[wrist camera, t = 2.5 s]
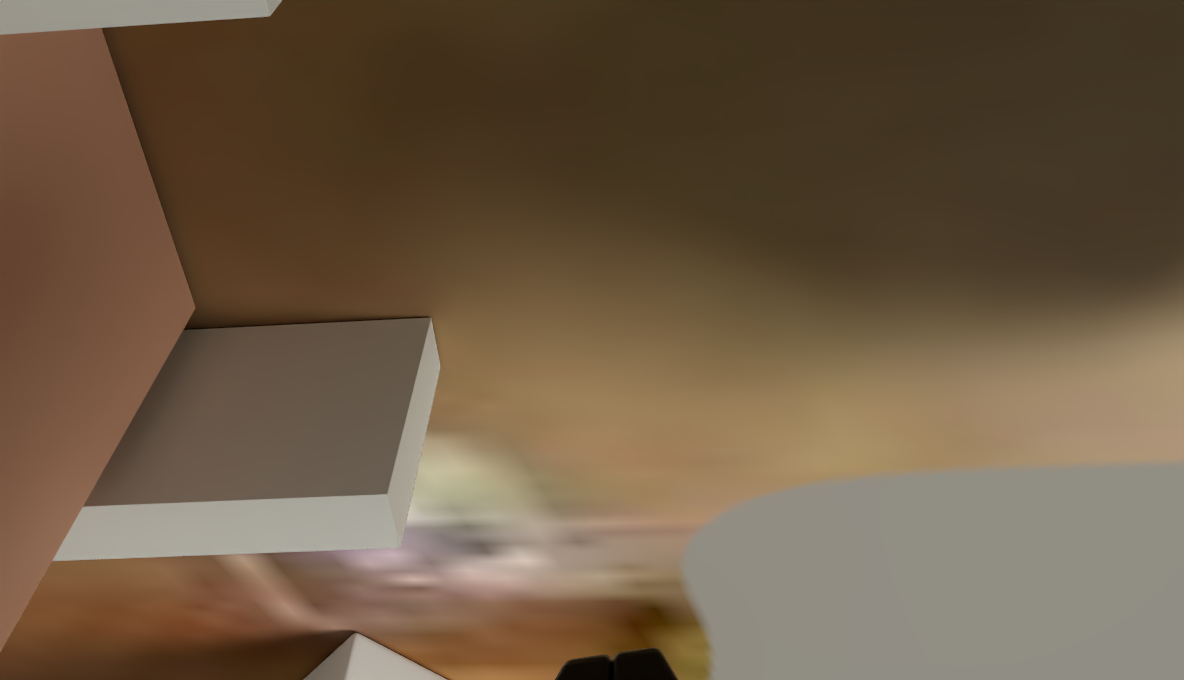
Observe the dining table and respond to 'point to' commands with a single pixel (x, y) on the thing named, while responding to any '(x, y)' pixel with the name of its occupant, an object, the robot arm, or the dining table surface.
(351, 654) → the milk
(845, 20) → the dining table surface
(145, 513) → the chute
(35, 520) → the block
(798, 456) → the dining table surface
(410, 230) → the dining table surface
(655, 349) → the dining table surface
